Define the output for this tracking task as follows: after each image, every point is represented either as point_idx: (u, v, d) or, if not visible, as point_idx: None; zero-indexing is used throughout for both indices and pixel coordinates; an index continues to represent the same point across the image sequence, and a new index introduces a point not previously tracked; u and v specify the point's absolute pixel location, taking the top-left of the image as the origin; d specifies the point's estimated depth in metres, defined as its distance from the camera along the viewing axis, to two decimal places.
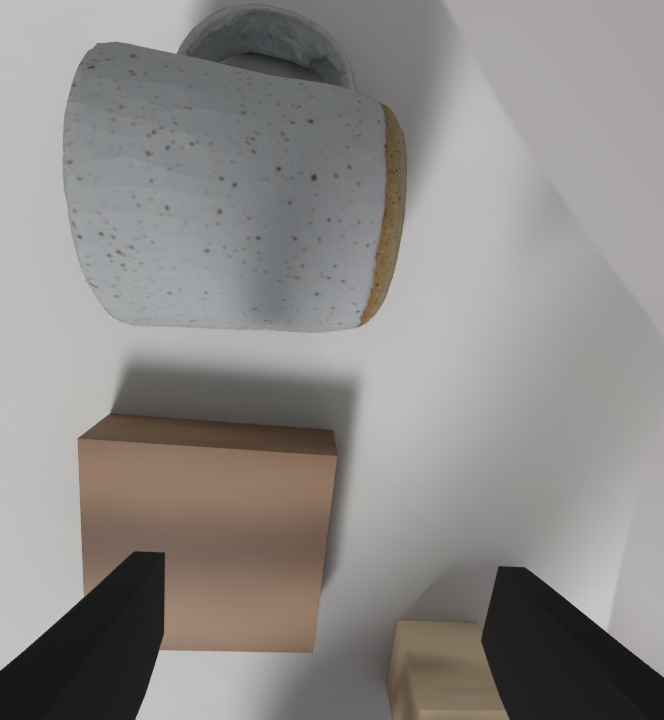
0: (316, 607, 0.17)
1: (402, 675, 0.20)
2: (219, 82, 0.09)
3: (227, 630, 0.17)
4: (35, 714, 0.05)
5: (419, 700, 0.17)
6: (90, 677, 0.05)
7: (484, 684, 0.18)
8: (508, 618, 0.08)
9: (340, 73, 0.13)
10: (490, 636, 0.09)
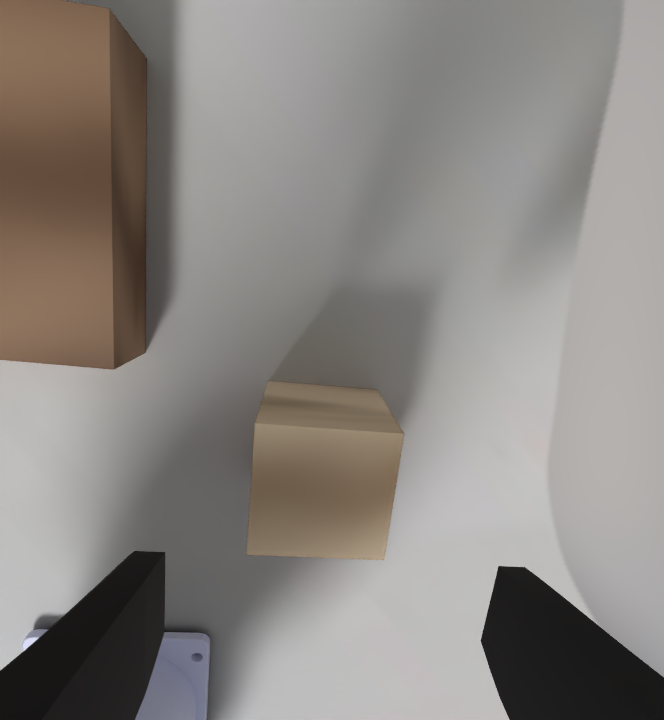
0: (109, 289, 0.12)
1: None
2: None
3: None
4: (35, 714, 0.05)
5: (258, 418, 0.12)
6: (90, 677, 0.05)
7: (362, 417, 0.13)
8: (508, 618, 0.08)
9: None
10: (490, 636, 0.09)
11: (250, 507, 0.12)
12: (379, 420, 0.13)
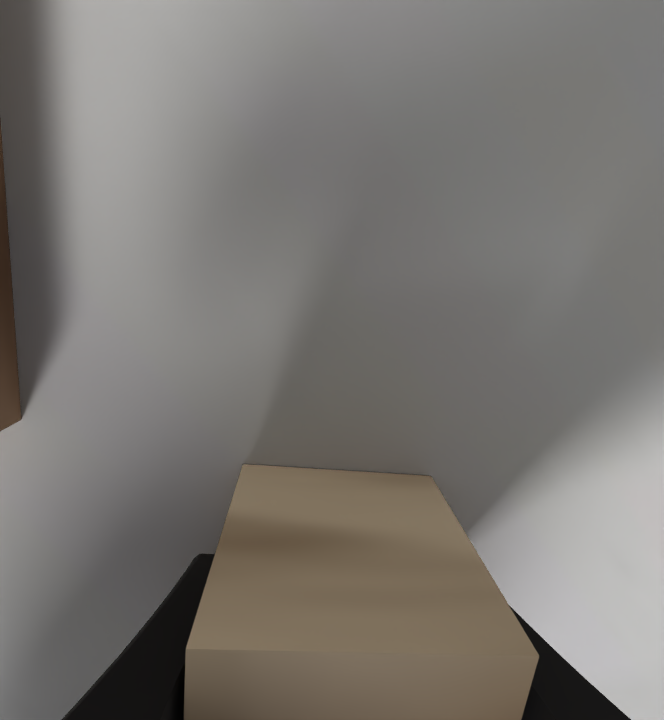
0: None
1: None
2: None
3: None
4: (148, 714, 0.05)
5: (198, 622, 0.05)
6: None
7: (430, 585, 0.06)
8: None
9: None
10: None
11: None
12: (467, 594, 0.06)
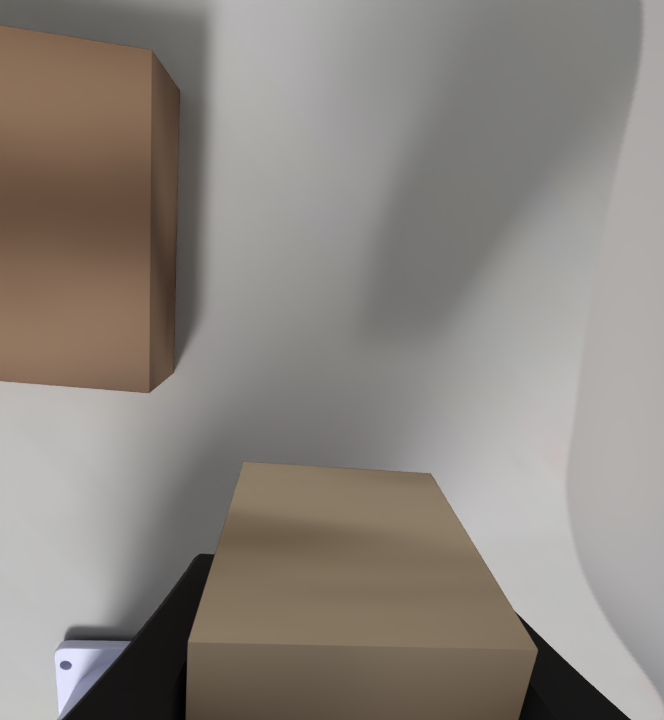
0: (146, 316, 0.12)
1: None
2: None
3: (20, 348, 0.12)
4: (148, 714, 0.05)
5: (200, 616, 0.05)
6: (186, 678, 0.05)
7: (430, 580, 0.06)
8: None
9: None
10: None
11: None
12: (466, 589, 0.06)
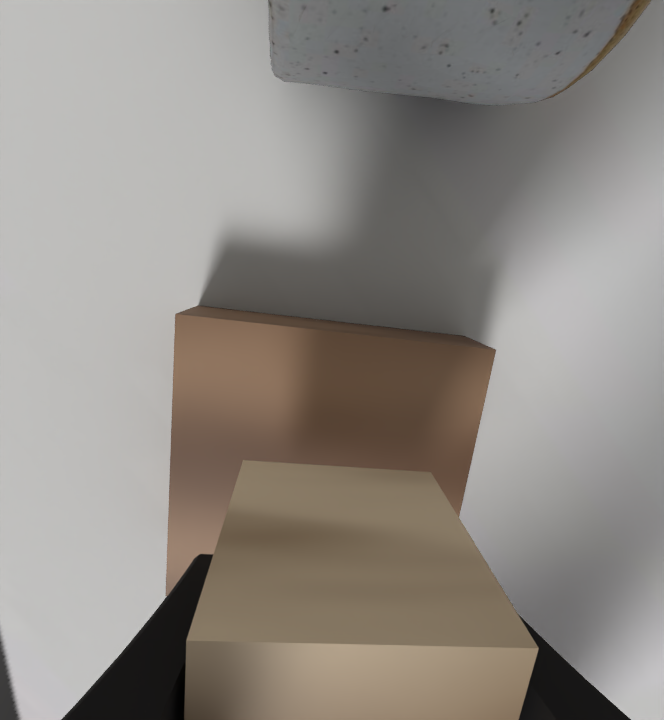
0: None
1: None
2: None
3: None
4: (148, 715, 0.05)
5: (199, 614, 0.05)
6: None
7: (430, 579, 0.06)
8: None
9: None
10: None
11: None
12: (466, 588, 0.06)
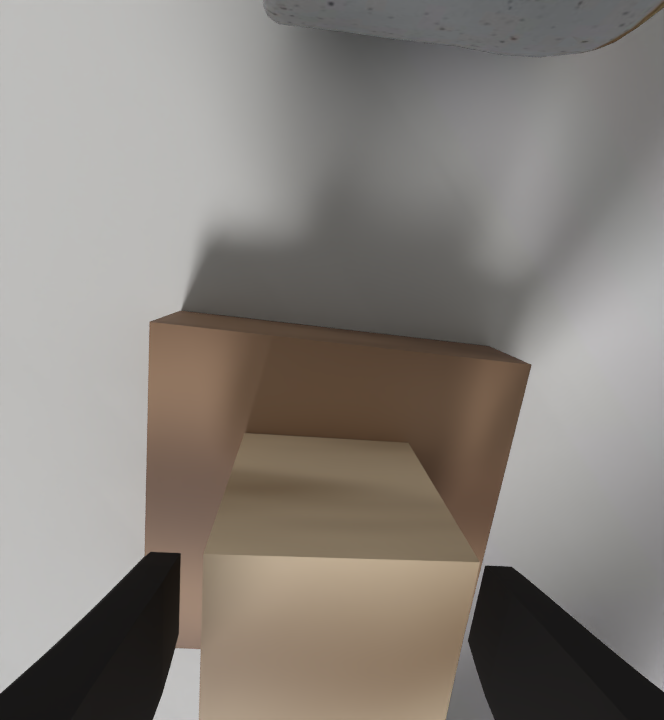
0: None
1: None
2: None
3: None
4: (63, 713, 0.05)
5: (212, 537, 0.06)
6: (113, 677, 0.05)
7: (399, 517, 0.07)
8: (494, 618, 0.08)
9: None
10: (477, 636, 0.09)
11: (201, 692, 0.07)
12: (428, 523, 0.07)
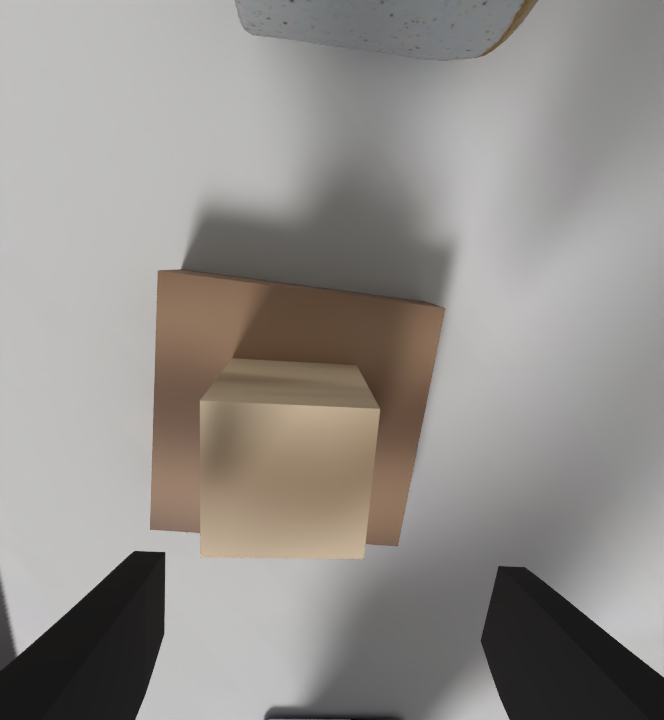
0: (406, 491, 0.16)
1: None
2: None
3: None
4: (35, 713, 0.05)
5: (205, 395, 0.10)
6: (90, 677, 0.05)
7: (333, 393, 0.11)
8: (508, 618, 0.08)
9: None
10: (490, 636, 0.09)
11: (201, 501, 0.10)
12: (353, 395, 0.11)
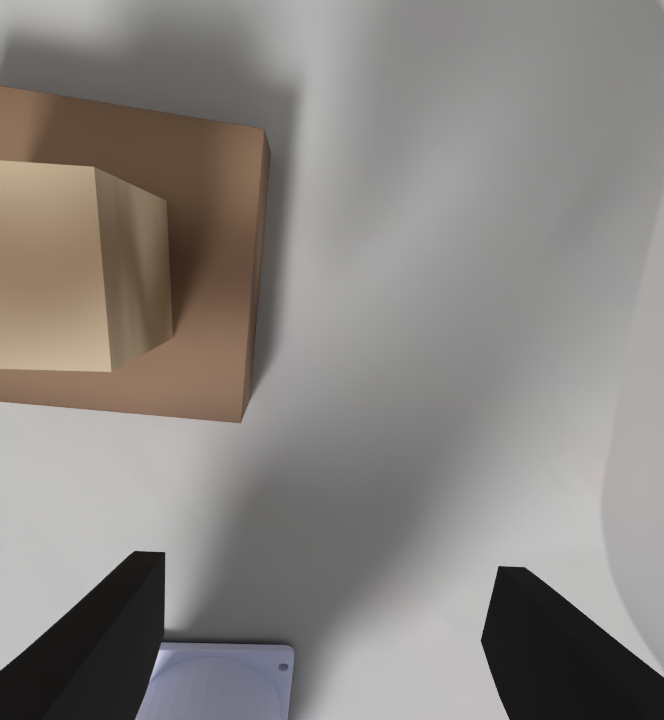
0: (243, 356, 0.14)
1: None
2: None
3: (131, 383, 0.14)
4: (35, 714, 0.05)
5: None
6: (90, 677, 0.05)
7: None
8: (508, 618, 0.08)
9: None
10: (490, 636, 0.09)
11: None
12: None
